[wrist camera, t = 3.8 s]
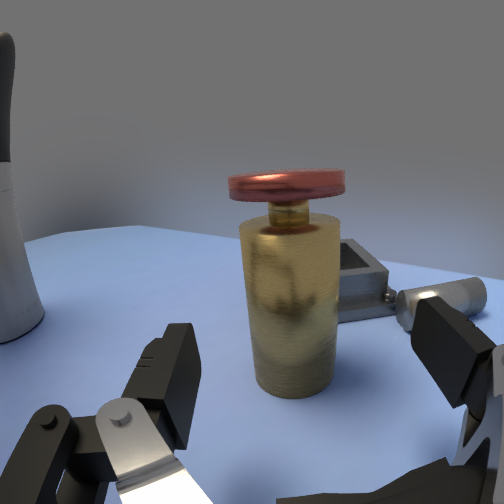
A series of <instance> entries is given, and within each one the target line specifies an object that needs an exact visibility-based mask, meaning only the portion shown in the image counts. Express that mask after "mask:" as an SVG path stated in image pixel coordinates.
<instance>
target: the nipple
mask: <svg viewBox="0 0 504 504" xmlns="http://www.w3.org/2000/svg"><path fill="white" fill-rule="evenodd" d="M433 296H439V297H441V298H442V299H443V300H444V301H445V302H446V303H447V304H448V305H450V306H451V307H452V308H454V309H456V310H458V311H460V312H462V313H463V314H464V315H465V316H470V315H473V314H476V313H480V312H481V311H482V310H483V309H484V307H485V305H486V301H487V292H486V287H485V285H484V283H483V282H482V280H481V279H479V278H478V277H472V278H467V279H462V280H457V281H452V282H447V283H442V284H436V285H431V286H425V287H420V288H414V289H408V290H402V291H400V292H399V293H398V295H397V298H396V303H395V311H396V318H397V321H398V323H399V324H400V326H401V327H402V328H403V329H404V331H405V332H407V331H412V327H413V322H414V317H415V312H416V307H417V303H418V301H419V300H420V299H422V298H428V297H433Z"/></svg>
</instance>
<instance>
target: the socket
mask: <svg viewBox="0 0 504 504" xmlns="http://www.w3.org/2000/svg"><path fill="white" fill-rule="evenodd" d="M388 275H389V270H388V269H386V268H385V267H384V266H383V265H382V264H381V263H380V262H379V261H378V260H376V259H375V258H374V257H373V256H372V255H371V254H370V253H368V252H367V251H366V250H365V249H364V248H363V247H362V246H360V245H359V244H358V243H357V242H356V241H355V240H353V239H343V240H340V286H339V310H338V323H342V322H349V321H356V320H362V319H369V318H375V317H381V316H387V315H392V314H396V311H395V303H396V298H397V294H396V293H397V292H396V291H395V290H392V289H391V288H390V287H389V286H388Z"/></svg>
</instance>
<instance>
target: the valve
mask: <svg viewBox="0 0 504 504" xmlns="http://www.w3.org/2000/svg"><path fill="white" fill-rule="evenodd" d="M228 187H229V196H230V199H232V200H235V201H245V202H268V213H269V215H266V216H261V217H256V218H253V219H250V220H247V221H245V222H243V223H241V224H240V226H239V232H240V242H241V251H242V261H243V270H244V279H245V288H246V298H247V307H248V316H249V325H250V334H251V342H252V351H253V360H254V368H255V377H256V381H257V383H258V384H259V386H260V387H261V388H262V389H263V390H264V391H266V392H267V393H269V394H271V395H274V396H277V397H280V398H286V399H300V398H305V397H309V396H312V395H315V394H317V393H319V392H320V391H322V390H323V389H325V388H326V387H327V386H328V385H329V383H330V382H331V380H332V378H333V374H334V365H335V354H336V341H337V327H338V310H339V286H340V221H339V219H337V218H335V217H333V216H330V215H325V214H318V213H309V199H318V198H326V197H331V196H337V195H340V194H343V193H344V192H345V171H344V170H342V169H327V168H324V169H322V168H319V169H318V168H316V169H314V168H311V169H285V170H271V171H260V172H252V173H244V174H238V175H232V176H229V177H228Z"/></svg>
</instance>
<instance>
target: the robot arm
mask: <svg viewBox="0 0 504 504" xmlns="http://www.w3.org/2000/svg"><path fill="white" fill-rule="evenodd" d="M14 69H15V46H14V42H13V39H12V37H11V35H10V34H8V33H6V32H0V343H2V342H6V341H10V340H12V339H15V338H17V337H19V336H21V335H23V334H25V333H26V332H28V331H29V330H31V329H32V328H33V327H34V326H36V325H37V324H38V323H39V321H40V320H41V319H42V317H43V315H44V309H43V306H42V303H41V301H40V298H39V295H38V292H37V289H36V286H35V283H34V279H33V276H32V272H31V269H30V265H29V262H28V258H27V254H26V250H25V246H24V242H23V238H22V234H21V229H20V224H19V219H18V214H17V209H16V202H15V196H14V190H13V182H12V174H11V163H10V106H11V95H12V86H13V78H14ZM411 345H412V348H413V350H414V352H415V353H416V355H417V356H418V358H419V359H420V360H421V362H422V363H423V365H424V366H425V368H426V369H427V370H428V372H429V373H430V375H431V376H432V378H433V379H434V381H435V382H436V384H437V385H438V387H439V388H440V390H441V391H442V393H443V394H444V396H445V397H446V399H447V400H448V402H449V403H450V405H451V406H452V408H453V409H454V408H456V407H459V406H461V405H463V404H466V405H467V408H466V410H465V412H464V415H463V422H462V428H461V433H460V439H459V444H458V448H457V453H456V456H455V459H454V461H453V463H452V465H451V466H450V465H449V463H448V461H447V459H446V457H444V458H442V459H439V460H437V461H435V462H432V463H430V464H427V465H425V466H422V467H419V468H417V469H414V470H411V471H409V472H408V473H406V474H404V475H403V476H401V477H399V478H398V479H396V480H394V481H393V482H391V483H389V484H387V485H386V486H384V487H382V488H380V489H378V490H376V491H374V492H371V493H350V494H339V493H321V494H314V495H307V496H299V497H290V498H279V499H276V504H504V344H501V345H498V346H497V345H496V344H495V343H494V342H493V341H492V340H490V339H489V338H488V337H487V336H486V335H485V334H484V333H483V332H482V331H481V330H480V329H479V328H478V327H475V324H474V323H473V322H472V321H469V319H468V318H467V317H466V316H465V315H464V314H463V313H462V312H460V311H458V310H456V309H454V308H452V307H451V306H450V305H448V304H447V303H446V302H445V301H444V300H443V299H442V298H441V297H439V296H433V297H428V298H422V299H420V300H419V301H418V303H417V307H416V312H415V317H414V322H413V327H412V332H411ZM200 378H201V360H200V355H199V351H198V347H197V342H196V338H195V333H194V329H193V326H192V324H191V323H171V324H168V326H167V328H166V331H165V333H164V335H163V337H162V338H155V339H154V340H153V341H151V342H150V343H149V344H148V345H147V346H146V347H145V348H144V350H143V352H142V354H141V357H140V359H139V361H138V363H137V365H136V368H135V369H134V371H133V373H132V375H131V377H130V379H129V381H128V383H127V385H126V388H125V390H124V392H123V394H122V396H121V398H117V399H114V400H111V401H109V402H107V403H106V404H104V405H103V406H102V407H101V408H100V409H99V411H98V413H97V415H95V416H86V417H74V418H72V417H71V415H70V414H69V412H68V411H67V410H66V409H65V408H64V407H63V406H60V405H47V406H44V407H42V408H41V409H39V410H38V411H36V412H35V414H34V415H33V416H32V418H31V419H30V421H29V423H28V425H27V426H26V428H25V430H24V432H23V434H22V435H21V437H20V439H19V441H18V443H17V445H16V447H15V448H14V450H13V452H12V454H11V456H10V458H9V460H8V462H7V464H6V466H5V468H4V470H3V473H2V475H1V477H0V504H104V501H105V497H106V493H107V489H108V485H109V482H115V481H119V482H116V489H117V491H118V494H119V496H120V498H121V500H122V502H123V504H213V503H212V502H211V501H210V500H209V499H208V497H207V496H206V495H205V494H204V493H203V491H202V490H201V489H200V487H199V486H198V485H197V484H196V482H195V481H194V480H193V478H192V477H191V476H190V474H189V473H188V472H187V470H186V469H185V468H184V466H183V465H182V464H181V462H180V461H179V460H178V459H177V458H176V457H175V456H174V455H173V454H174V450H175V449H178V450H186V449H187V443H188V438H189V433H190V428H191V423H192V418H193V413H194V408H195V403H196V398H197V393H198V388H199V383H200ZM64 470H65V472H64V475H63V477H62V480H61V483H60V485H59V488H58V491H57V494H56V490H57V487H58V484H59V481H60V479H61V476H62V473H63V471H64Z"/></svg>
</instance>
